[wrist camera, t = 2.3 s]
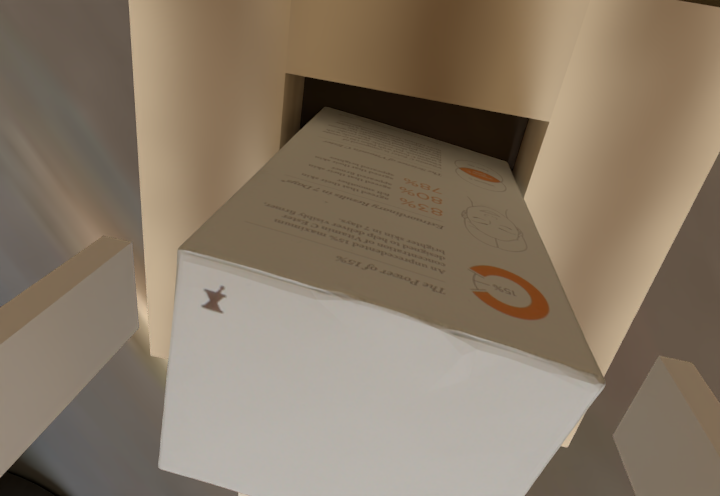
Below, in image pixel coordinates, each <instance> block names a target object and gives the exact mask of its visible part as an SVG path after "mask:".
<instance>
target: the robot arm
mask: <svg viewBox="0 0 720 496" xmlns="http://www.w3.org/2000/svg"><path fill="white" fill-rule="evenodd" d="M138 329H139V322H138V309H137V297H136V284H135V272H134V259H133V247H132V242H130V241H126V240H121V239H117V238H112V237H107V236H102V237H101V238H100V239H98V240H97V241H95V242H94V243H92V244H91V245H90V246H88V247H87V248H85V249H84V250H82V251H81V252H79V253H78V254H77V255H75V256H74V257H72V258H71V259H69V260H68V261H67V262H65V263H64V264H62V265H61V266H59V267H58V268H57V269H55V270H54V271H52V272H51V273H49V274H48V275H46V276H45V277H44V278H42V279H41V280H39V281H38V282H36V283H35V284H34V285H32V286H31V287H29V288H28V289H26V290H25V291H24V292H22V293H21V294H19V295H18V296H16V297H15V298H13V299H12V300H11V301H9V302H8V303H6V304H5V305H3V306H2V307H1V308H0V496H55V495H53V494H52V493H50V492H48V491H47V490H45V489H43V488H41V487H40V486H38V485H36V484H34V483H32V482H30V481H28V480H25V479H23V478H21V477H18V476H16V475H13V474H10V473H8V472H6V471H7V470H8V469H9V468H10V467H11V466H12V465H13V463H14V462H15V461H16V460H17V459H18V458H19V457H20V456H21V455H22V454H23V453H24V452H25V450H26V449H27V448H28V447H29V446H30V445H31V444H32V443H33V442H34V441H35V440H36V439H37V438H38V436H39V435H40V434H41V433H42V432H43V431H44V430H45V429H46V428H47V427H48V426H49V425H50V423H51V422H52V421H53V420H54V419H55V418H56V417H57V416H58V415H59V414H60V413H61V412H62V411H63V409H64V408H65V407H66V406H67V405H68V404H69V403H70V402H71V401H72V400H73V399H74V398H75V397H76V395H77V394H78V393H79V392H80V391H81V390H82V389H83V388H84V387H85V386H86V385H87V384H88V382H89V381H90V380H91V379H92V378H93V377H94V376H95V375H96V374H97V373H98V372H99V371H100V370H101V368H102V367H103V366H104V365H105V364H106V363H107V362H108V361H109V360H110V359H111V358H112V357H113V355H114V354H115V353H116V352H117V351H118V350H119V349H120V348H121V347H122V346H123V345H124V344H125V343H126V341H127V340H128V339H129V338H130V337H131V336H132V335H133V334H134V333H135V332H136V331H137V330H138ZM613 438H614V441H615V443H616V446H617V449H618V451H619V454H620V456H621V459H622V462H623V464H624V467H625V469H626V472H627V475H628V477H629V480H630V483H631V485H632V488H633V490H634V493H635V496H720V403H719V402H718V400H717V399H716V397H715V396H714V394H713V393H712V391H711V390H710V388H709V387H708V385H707V384H706V383H705V381H704V380H703V378H702V377H701V375H700V374H699V372H698V371H697V369H696V368H695V366H694V365H693V363H691V362H686V361H682V360H677V359H673V358H668V357H663V356H658V358H657V360H656V361H655V363H654V365H653V367H652V368H651V370H650V372H649V374H648V375H647V377H646V379H645V381H644V382H643V384H642V386H641V387H640V389H639V391H638V393H637V394H636V396H635V398H634V400H633V401H632V403H631V405H630V406H629V408H628V410H627V412H626V413H625V415H624V417H623V419H622V420H621V422H620V424H619V426H618V427H617V429H616V431H615V432H614V434H613Z"/></svg>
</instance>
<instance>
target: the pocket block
mask: <svg viewBox="0 0 720 496" xmlns="http://www.w3.org/2000/svg"><path fill="white" fill-rule="evenodd" d="M129 13H130V30H131V46H132V62H133V78H134V95H135V111H136V127H137V144H138V160H139V176H140V193H141V209H142V225H143V242H144V258H145V274H146V290H147V307H148V323H149V339H150V355H151V356H156V357H160V358H165V359H169V349H170V339H171V329H172V320H173V310H174V297H175V284H176V270H177V250H178V248H179V247H180V246H181V245H182V244H183V243H184V242H185V241H186V240H187V239H188V238H189V237H190V236H191V235H192V234H193V233H194V232H195V231H196V230H198V229H199V228H200V227H201V226H202V225H203V224H204V223H205V222H206V221H207V220H208V219H209V218H210V217H211V216H212V215H213V214H214V213H215V212H216V211H217V210H218V209H219V208H220V207H221V206H222V205H224V204H225V203H226V202H227V201H228V200H229V199H230V198H231V197H232V196H233V195H234V194H235V193H236V192H237V191H238V190H239V189H240V188H241V187H242V186H243V185H244V184H245V183H246V182H247V181H248V180H249V179H251V178H252V177H253V176H254V175H255V174H256V173H257V172H258V171H259V170H260V169H261V168H262V167H263V166H264V165H265V164H266V163H267V162H268V161H269V160H270V159H271V158H272V157H273V156H274V155H275V154H276V153H277V152H278V151H279V150H280V149H281V148H282V147H283V146H284V145H285V144H286V143H287V142H288V141H289V140H290V139H291V138H292V137H293V136H294V135H295V134H296V133H297V132H299V131H300V122H301V112H302V102H303V91H304V81H305V77H310V78H316V79H321V80H327V81H332V82H337V83H343V84H348V85H354V86H359V87H364V88H370V89H375V90H380V91H386V92H391V93H397V94H402V95H407V96H413V97H418V98H424V99H429V100H434V101H440V102H445V103H450V104H456V105H461V106H467V107H472V108H477V109H483V110H488V111H493V112H499V113H504V114H510V115H515V116H520V117H526V118H529V121H528V124H527V127H526V130H525V133H524V137H523V140H522V143H521V146H520V149H519V152H518V156H517V159H516V162H515V165H514V168H513V171H512V174H513V176H514V178H515V180H516V183H517V185H518V187H519V189H520V192H521V194H522V196H523V198H524V200H525V203H526V205H527V207H528V210H529V212H530V214H531V216H532V218H533V221H534V223H535V226H536V228H537V230H538V232H539V235H540V237H541V239H542V241H543V244H544V246H545V248H546V250H547V252H548V255H549V257H550V259H551V261H552V263H553V266H554V268H555V270H556V273H557V275H558V277H559V280H560V282H561V284H562V287H563V289H564V291H565V293H566V296H567V298H568V300H569V302H570V305H571V307H572V309H573V312H574V314H575V316H576V318H577V321H578V323H579V325H580V327H581V329H582V331H583V334H584V336H585V339H586V341H587V343H588V345H589V347H590V350H591V352H592V354H593V356H594V358H595V360H596V362H597V364H598V366H599V368H600V371H601V373H602V375H603V377H604V376H605V374H606V372H607V370H608V368H609V366H610V364H611V362H612V360H613V358H614V356H615V354H616V352H617V350H618V348H619V346H620V344H621V342H622V341H623V339H624V337H625V335H626V333H627V331H628V329H629V327H630V325H631V323H632V321H633V319H634V317H635V315H636V313H637V311H638V309H639V307H640V305H641V304H642V302H643V300H644V298H645V296H646V294H647V292H648V290H649V288H650V286H651V284H652V282H653V280H654V278H655V276H656V274H657V272H658V270H659V268H660V267H661V265H662V263H663V261H664V259H665V257H666V255H667V253H668V251H669V249H670V247H671V245H672V243H673V241H674V239H675V237H676V235H677V233H678V231H679V230H680V228H681V226H682V224H683V222H684V220H685V218H686V216H687V214H688V212H689V210H690V208H691V206H692V204H693V202H694V200H695V198H696V196H697V195H698V193H699V191H700V189H701V187H702V185H703V183H704V181H705V179H706V177H707V175H708V173H709V171H710V169H711V167H712V165H713V163H714V161H715V159H716V158H717V156H718V154H719V152H720V7H714V6H709V5H703V4H697V3H691V2H685V1H679V0H129ZM585 413H586V412H585ZM583 416H584V415H583ZM583 416H582V418H583ZM582 418H581V419H580V420H579V422H578V423H577V424H576V426H575V427H574V428H573V430H572V431H571V433H570V434H569V435H568V437H567V438H566V439H565V441H564V442H563V443H562V445H561V446H563V447H568V446H569V444H570V442H571V440H572V438H573V436H574V434H575V432H576V430H577V428H578V426H579V424H580V422H581V420H582Z"/></svg>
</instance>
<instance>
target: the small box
mask: <svg viewBox="0 0 720 496" xmlns="http://www.w3.org/2000/svg"><path fill="white" fill-rule="evenodd" d="M604 387H605V379H604V377H603V375H602V373H601V371H600V368H599V366H598V364H597V362H596V360H595V358H594V356H593V354H592V352H591V350H590V347H589V345H588V343H587V341H586V339H585V336H584V334H583V331H582V329H581V327H580V325H579V323H578V321H577V318H576V316H575V314H574V312H573V309H572V307H571V305H570V302H569V300H568V298H567V296H566V293H565V291H564V289H563V287H562V284H561V282H560V280H559V277H558V275H557V273H556V270H555V268H554V266H553V263H552V261H551V259H550V257H549V255H548V252H547V250H546V248H545V246H544V244H543V241H542V239H541V237H540V235H539V232H538V230H537V228H536V226H535V223H534V221H533V218H532V216H531V214H530V212H529V210H528V207H527V205H526V203H525V200H524V198H523V196H522V194H521V192H520V189H519V187H518V185H517V183H516V180H515V178H514V176H513V174H512V171H511V169H510V167H509V164H508V163H507V162H506V161H503V160H500V159H497V158H494V157H490V156H487V155H484V154H481V153H478V152H475V151H471V150H468V149H465V148H462V147H459V146H456V145H452V144H449V143H446V142H443V141H440V140H436V139H433V138H430V137H427V136H423V135H420V134H417V133H413V132H410V131H407V130H403V129H400V128H397V127H394V126H390V125H387V124H384V123H381V122H377V121H374V120H371V119H367V118H364V117H361V116H357V115H354V114H350V113H347V112H344V111H340V110H337V109H333V108H330V107H324V108H323V109H322V110H321V111H320V112H319V113H317V114H316V115H315V116H314V117H313V118H312V119H311V120H310V121H309V122H308V123H307V124H306V125H305V126H304V127H303V128H302V129H301V130H300V131H299V132H297V133H296V134H295V135H294V136H293V137H292V138H291V139H290V140H289V141H288V142H287V143H286V144H285V145H284V146H283V147H282V148H281V149H280V150H279V151H278V152H277V153H276V154H275V155H274V156H273V157H272V158H271V159H270V160H269V161H268V162H267V163H266V164H265V165H264V166H263V167H262V168H261V169H260V170H259V171H258V172H257V173H256V174H255V175H254V176H253V177H252V178H251V179H249V180H248V181H247V182H246V183H245V184H244V185H243V186H242V187H241V188H240V189H239V190H238V191H237V192H236V193H235V194H234V195H233V196H232V197H231V198H230V199H229V200H228V201H227V202H226V203H225V204H224V205H222V206H221V207H220V208H219V209H218V210H217V211H216V212H215V213H214V214H213V215H212V216H211V217H210V218H209V219H208V220H207V221H206V222H205V223H204V224H203V225H202V226H201V227H200V228H199V229H198V230H196V231H195V232H194V233H193V234H192V235H191V236H190V237H189V238H188V239H187V240H186V241H185V242H184V243H183V244H182V245H181V246H180V247H179V248H178V250H177V270H176V284H175V297H174V310H173V320H172V329H171V339H170V349H169V359H168V368H167V379H166V390H165V400H164V412H163V421H162V431H161V442H160V454H159V462H158V467H159V468H160V469H162V470H165V471H169V472H172V473H176V474H179V475H183V476H186V477H190V478H193V479H197V480H200V481H203V482H207V483H210V484H213V485H217V486H220V487H223V488H226V489H229V490H233V491H236V492H239V493H242V494H246V495H249V496H525V494H526V493H527V492H528V490H529V489H530V487H531V486H532V484H533V483H534V482H535V480H536V479H537V477H538V476H539V475H540V473H541V472H542V471H543V469H544V468H545V466H546V465H547V464H548V462H549V461H550V460H551V458H552V457H553V456H554V454H555V453H556V452H557V450H558V449H559V447H560V446H561V445H562V443H563V442H564V441H565V439H566V438H567V437H568V435H569V434H570V433H571V431H572V430H573V428H574V427H575V426H576V424H577V423H578V422H579V420H580V419H581V418H582V416H583V415H584V414H585V412H586V411H587V409H588V408H589V407H590V405H591V404H592V403H593V401H594V400H595V399H596V398H597V396H598V395H599V394H600V393H601V391H602V390H603V389H604Z"/></svg>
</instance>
